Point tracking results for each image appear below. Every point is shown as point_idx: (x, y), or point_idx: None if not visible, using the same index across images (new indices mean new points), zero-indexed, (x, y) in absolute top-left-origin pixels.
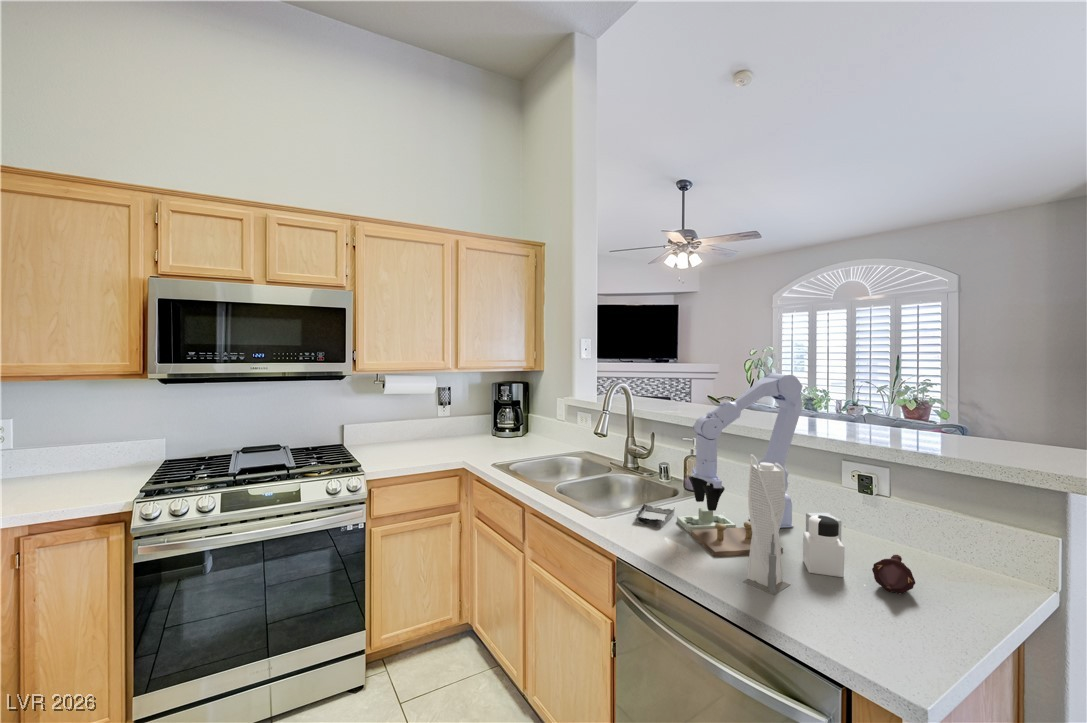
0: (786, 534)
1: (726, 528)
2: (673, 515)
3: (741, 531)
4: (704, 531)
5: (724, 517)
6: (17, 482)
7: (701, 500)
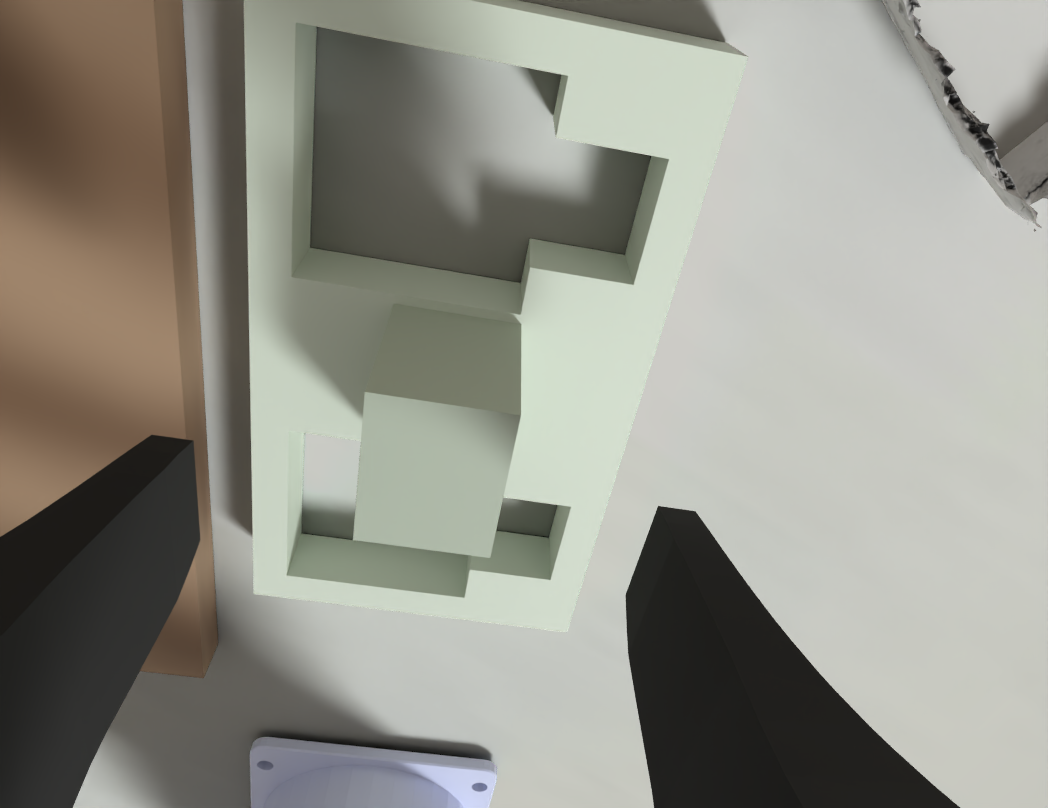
0: (135, 788)
1: None
2: (963, 152)
3: None
4: (77, 133)
5: (479, 611)
6: None
7: (637, 585)
